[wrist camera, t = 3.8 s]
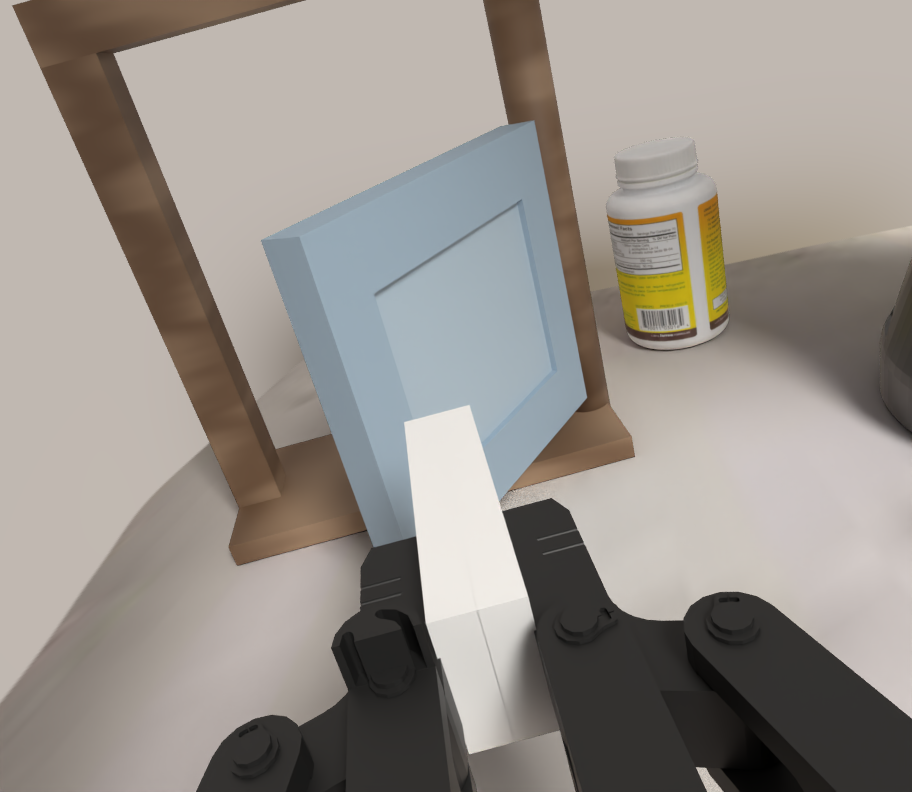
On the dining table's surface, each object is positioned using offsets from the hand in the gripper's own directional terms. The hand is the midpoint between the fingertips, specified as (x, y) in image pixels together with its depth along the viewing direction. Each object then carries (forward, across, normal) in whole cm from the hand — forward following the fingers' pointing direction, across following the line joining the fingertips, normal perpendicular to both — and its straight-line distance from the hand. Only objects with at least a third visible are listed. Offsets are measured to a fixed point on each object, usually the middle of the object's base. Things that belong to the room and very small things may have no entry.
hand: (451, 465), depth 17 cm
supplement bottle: (+23, +14, -9) cm, 28 cm away
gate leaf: (+10, +1, -7) cm, 12 cm away
